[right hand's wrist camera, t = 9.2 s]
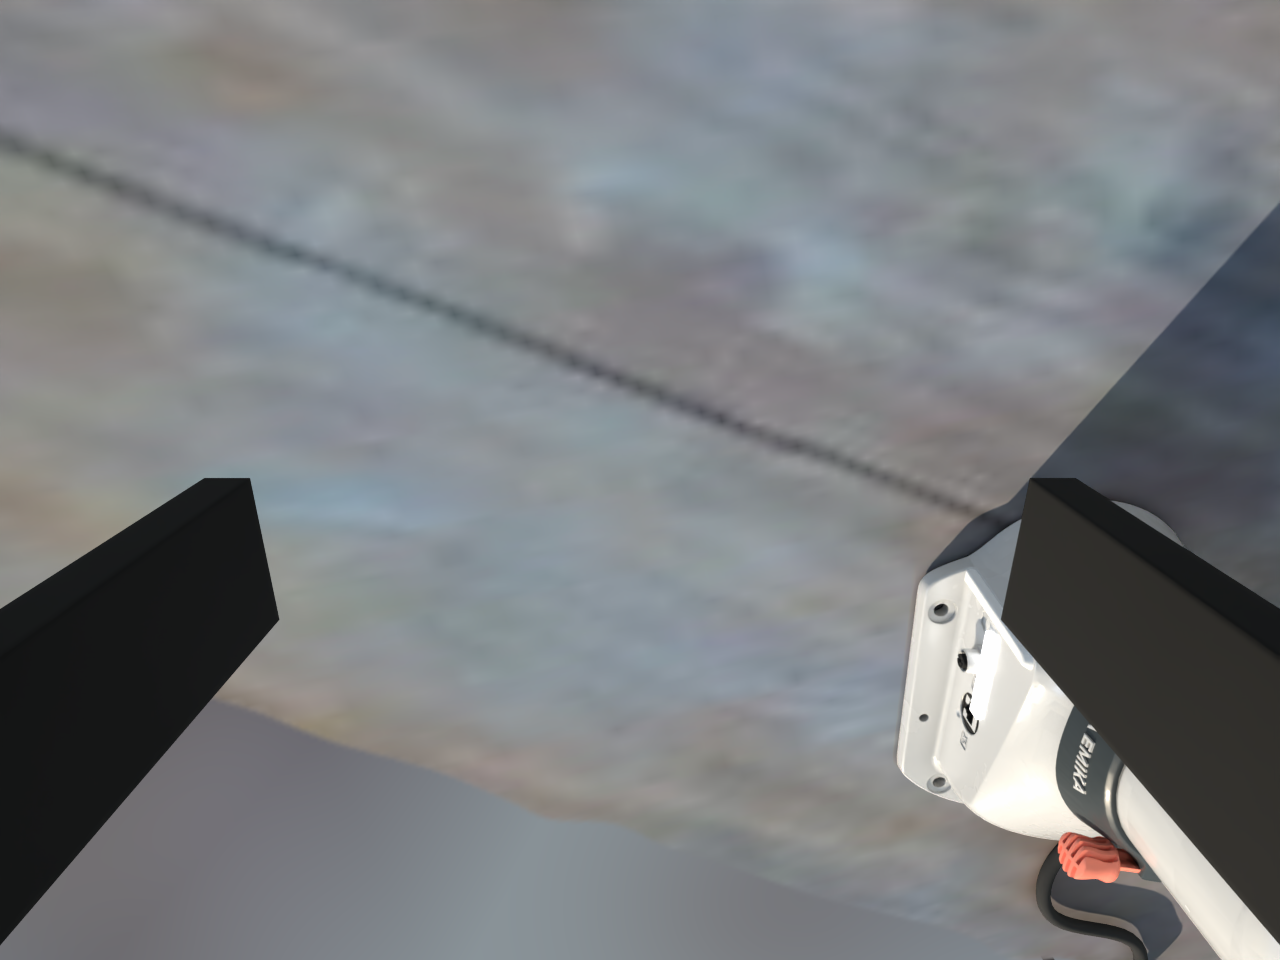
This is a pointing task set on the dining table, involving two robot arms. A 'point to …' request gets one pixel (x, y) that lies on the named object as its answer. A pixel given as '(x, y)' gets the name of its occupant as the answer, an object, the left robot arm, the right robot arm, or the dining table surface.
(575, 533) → the dining table surface
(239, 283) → the dining table surface
